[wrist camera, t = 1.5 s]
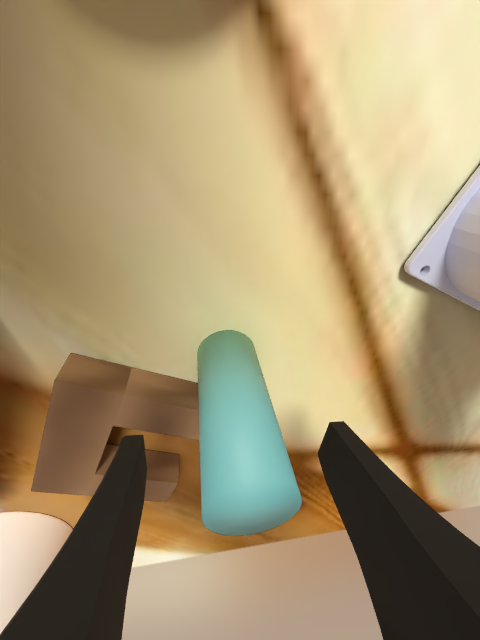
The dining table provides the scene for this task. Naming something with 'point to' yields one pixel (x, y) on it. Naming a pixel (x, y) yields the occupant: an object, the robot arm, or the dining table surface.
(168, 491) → the block
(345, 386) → the dining table surface
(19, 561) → the pill bottle
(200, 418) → the dowel
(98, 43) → the dining table surface
